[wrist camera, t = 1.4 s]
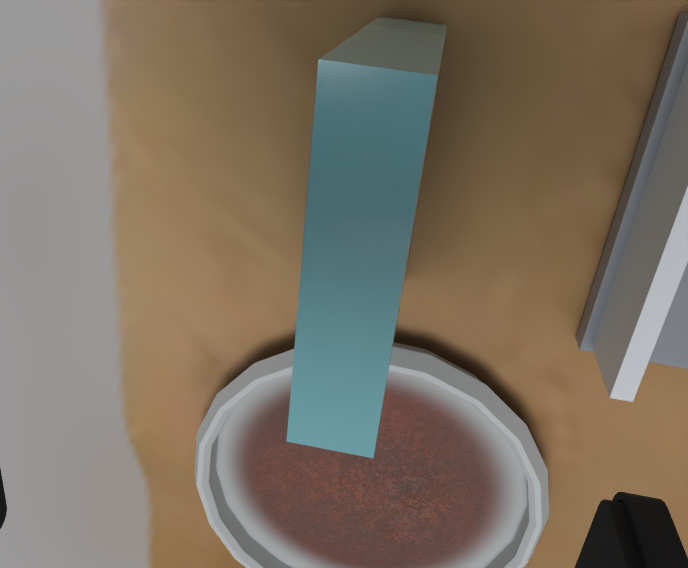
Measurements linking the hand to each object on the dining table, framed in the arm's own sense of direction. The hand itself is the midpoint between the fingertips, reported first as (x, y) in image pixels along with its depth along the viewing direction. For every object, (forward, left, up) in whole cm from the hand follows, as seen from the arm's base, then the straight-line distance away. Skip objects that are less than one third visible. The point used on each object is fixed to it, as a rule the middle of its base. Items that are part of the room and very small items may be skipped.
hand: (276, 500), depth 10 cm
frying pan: (+21, 0, -18) cm, 27 cm away
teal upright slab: (0, 0, -17) cm, 17 cm away
